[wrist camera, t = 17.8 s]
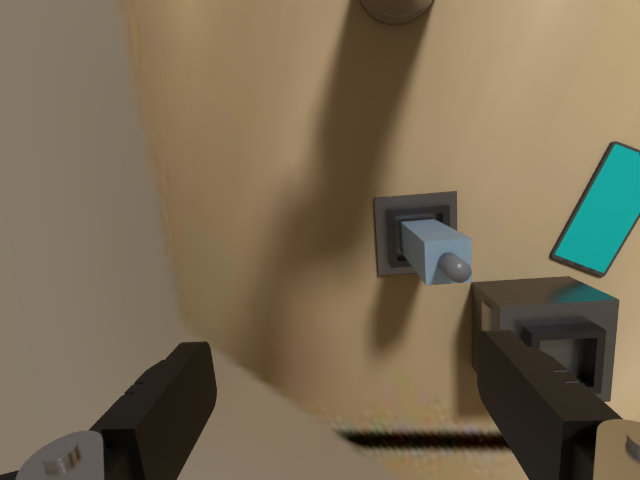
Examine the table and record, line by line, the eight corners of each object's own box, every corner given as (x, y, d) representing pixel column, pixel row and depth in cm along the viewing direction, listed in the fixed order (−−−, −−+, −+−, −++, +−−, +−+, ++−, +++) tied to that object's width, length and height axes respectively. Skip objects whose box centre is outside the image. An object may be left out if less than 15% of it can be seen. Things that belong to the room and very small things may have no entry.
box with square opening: (469, 282, 44) (505, 313, 34) (568, 276, 43) (633, 306, 33) (469, 365, 46) (503, 416, 37) (563, 361, 45) (623, 412, 36)
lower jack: (373, 198, 42) (375, 199, 40) (455, 191, 42) (461, 192, 39) (378, 273, 44) (380, 279, 42) (455, 268, 44) (462, 274, 41)
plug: (399, 220, 42) (433, 249, 27) (431, 217, 42) (485, 245, 26) (400, 251, 43) (434, 297, 27) (432, 249, 43) (485, 294, 27)
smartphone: (550, 257, 42) (614, 140, 39) (546, 255, 43) (608, 141, 40) (604, 277, 42) (672, 163, 39) (599, 275, 43) (665, 163, 40)
